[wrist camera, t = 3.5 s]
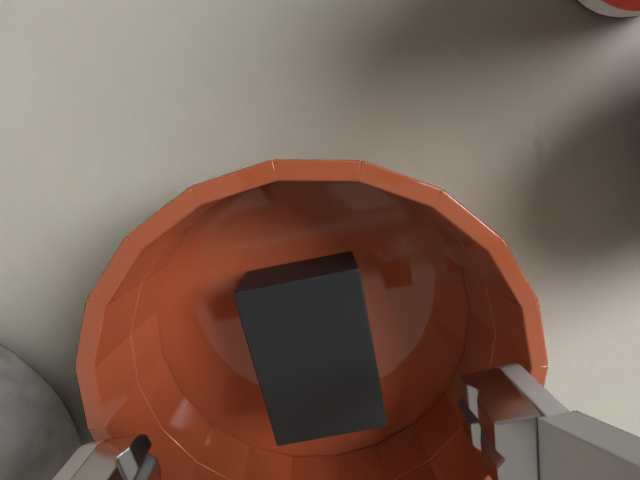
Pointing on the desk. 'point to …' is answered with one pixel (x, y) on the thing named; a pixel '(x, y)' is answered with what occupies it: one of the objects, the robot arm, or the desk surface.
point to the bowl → (230, 342)
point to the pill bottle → (613, 7)
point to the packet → (312, 347)
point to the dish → (31, 424)
